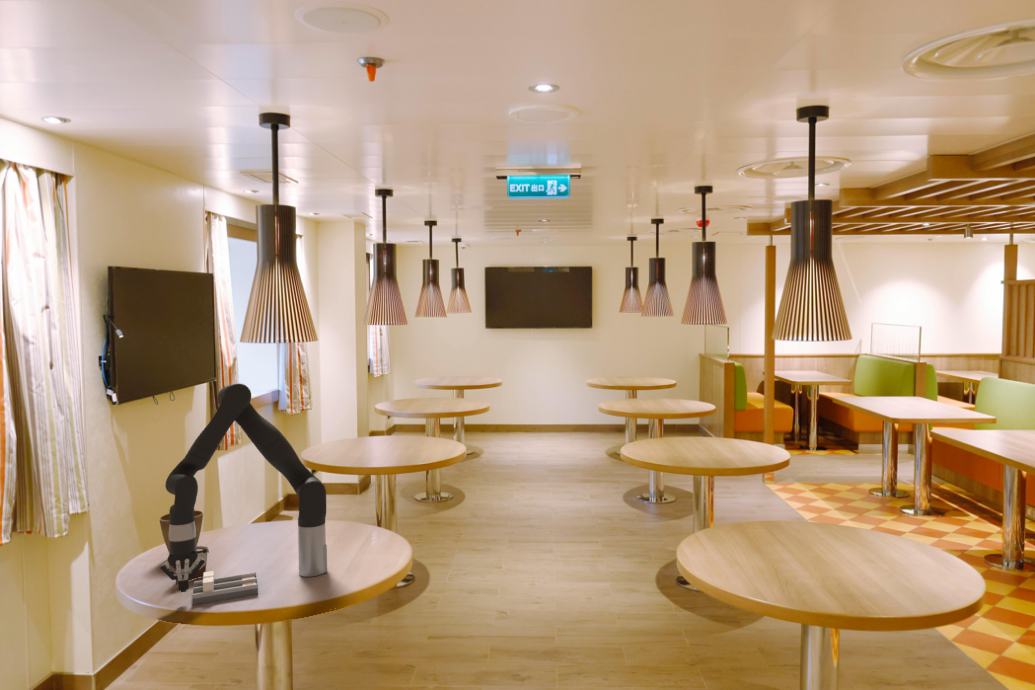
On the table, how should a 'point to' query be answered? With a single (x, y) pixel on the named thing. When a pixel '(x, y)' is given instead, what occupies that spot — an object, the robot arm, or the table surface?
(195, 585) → the switch panel
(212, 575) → the far tab
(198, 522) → the plant pot
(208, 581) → the near tab
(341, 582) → the table surface
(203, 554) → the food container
